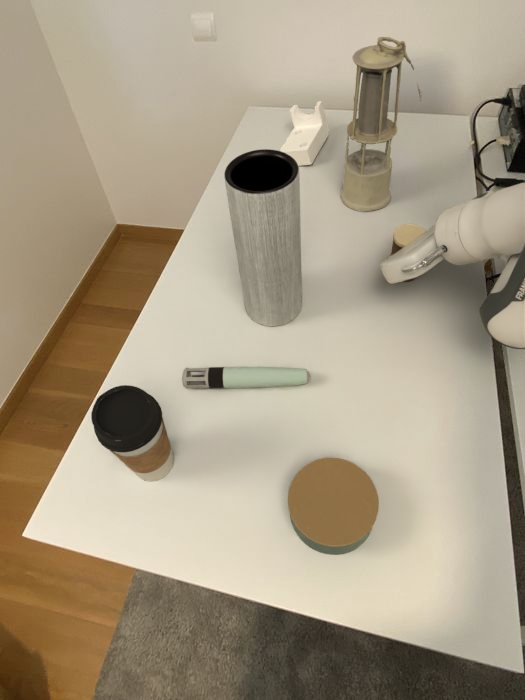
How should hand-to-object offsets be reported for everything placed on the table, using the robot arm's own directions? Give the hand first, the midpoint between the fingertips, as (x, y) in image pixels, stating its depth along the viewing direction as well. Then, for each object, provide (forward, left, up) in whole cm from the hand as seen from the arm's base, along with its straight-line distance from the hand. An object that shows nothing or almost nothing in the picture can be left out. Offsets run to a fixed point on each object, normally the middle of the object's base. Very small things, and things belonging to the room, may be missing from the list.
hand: (404, 250), depth 87 cm
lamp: (+9, -20, -5) cm, 22 cm away
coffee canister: (-1, 0, -5) cm, 5 cm away
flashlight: (+18, +30, -5) cm, 36 cm away
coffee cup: (+26, +47, -5) cm, 54 cm away
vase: (+19, +14, -5) cm, 25 cm away
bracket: (+28, -33, -5) cm, 44 cm away
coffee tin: (0, +46, -5) cm, 47 cm away
